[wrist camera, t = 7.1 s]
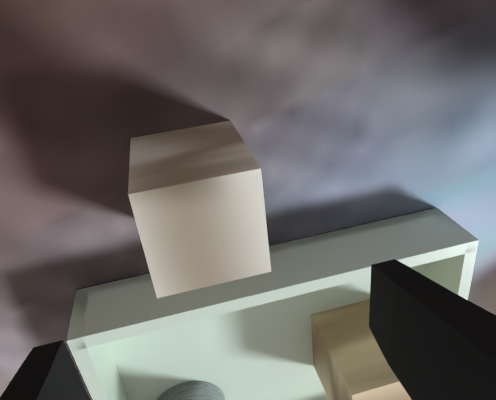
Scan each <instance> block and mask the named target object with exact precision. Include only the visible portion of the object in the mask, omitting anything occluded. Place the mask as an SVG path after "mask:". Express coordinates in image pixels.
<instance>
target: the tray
mask: <svg viewBox="0 0 496 400" xmlns="http://www.w3.org/2000/svg"><path fill="white" fill-rule="evenodd" d="M478 242H479V240H478V239H477V238H475V237H474V236H473V235H472V234H470V233H469V232H468V231H466V230H465V229H464V228H462V227H461V226H460V225H459V224H457V223H456V222H455V221H453V220H452V219H451V218H450V217H448V216H447V215H446V214H444V213H443V212H442V211H440V210H439V209H438V208H433V209H429V210H425V211H420V212H416V213H412V214H407V215H403V216H398V217H394V218H390V219H385V220H381V221H377V222H372V223H368V224H363V225H359V226H355V227H350V228H346V229H342V230H337V231H333V232H328V233H324V234H320V235H315V236H311V237H306V238H302V239H298V240H293V241H289V242H285V243H280V244H276V245H271V246H269V253H270V263H271V272H268V273H263V274H259V275H255V276H251V277H246V278H242V279H238V280H233V281H229V282H225V283H221V284H216V285H212V286H208V287H204V288H199V289H195V290H191V291H186V292H182V293H178V294H174V295H169V296H165V297H161V298H157V296H156V293H155V289H154V286H153V282H152V279H151V275H150V273H149V274H144V275H140V276H136V277H131V278H127V279H123V280H118V281H114V282H109V283H105V284H101V285H96V286H92V287H88V288H83V289H79V290H76V294H75V299H74V304H73V309H72V314H71V319H70V324H69V329H68V335H67V340H66V342H67V344H68V346H69V348H70V350H71V353H72V355H73V357H74V359H75V362H76V364H77V366H78V368H79V370H80V373H81V375H82V377H83V379H84V382H85V384H86V386H87V388H88V391H89V393H90V395H91V397H92V399H93V400H157V398H158V397H159V396H160V395H161V394H162V393H163V392H165V391H166V390H167V389H169V388H171V387H173V386H175V385H177V384H180V383H184V382H188V381H206V382H210V383H212V384H215V385H216V386H218V387H219V388H220V389H221V390H222V391H223V393H224V396H225V400H329V399H328V397H327V395H326V392H325V390H324V388H323V386H322V384H321V381H320V379H319V377H318V375H317V372H316V370H315V368H314V366H313V347H312V328H311V314H314V313H318V312H322V311H326V310H330V309H334V308H337V307H341V306H345V305H349V304H353V303H357V302H361V301H365V300H368V299H370V284H371V265H372V264H376V263H380V262H385V261H389V260H393V259H395V260H397V261H399V262H401V263H403V264H405V265H406V266H408V267H410V268H412V269H414V270H415V271H417V272H419V273H421V274H422V275H424V276H426V277H427V278H429V279H431V280H433V281H434V282H436V283H438V284H440V285H441V286H443V287H445V288H447V289H448V290H450V291H452V292H454V293H455V294H457V295H459V296H461V297H463V298H464V299H466V300H468V295H469V290H470V284H471V279H472V274H473V269H474V263H475V258H476V253H477V247H478Z"/></svg>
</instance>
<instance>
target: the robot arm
mask: <svg viewBox="0 0 496 400" xmlns="http://www.w3.org/2000/svg"><path fill="white" fill-rule="evenodd" d="M369 328H370V330H371V332H372V334H373V336H374V338H375V340H376V342H377V344H378V346H379V348H380V350H381V352H382V354H383V355H384V357H385V359H386V361H387V363H388V365H389V366H390V368H391V369H392V371H393V372H394V374H395V375H396V377H397V378H398V380H399V381H400V383H401V384H402V386H403V387H404V389H405V390H406V392H407V393H408V395H409V396H410V398H411V399H412V400H496V315H494V314H492V313H490V312H488V311H486V310H485V309H483V308H481V307H479V306H477V305H475V304H473V303H472V302H470V301H468V300H466V299H464V298H463V297H461V296H459V295H457V294H455V293H454V292H452V291H450V290H448V289H447V288H445V287H443V286H441V285H440V284H438V283H436V282H434V281H433V280H431V279H429V278H427V277H426V276H424V275H422V274H421V273H419V272H417V271H415V270H414V269H412V268H410V267H408V266H406V265H405V264H403V263H401V262H399V261H397V260H395V259H393V260H389V261H385V262H380V263H376V264H372V265H371V284H370V310H369ZM0 400H90V399H89V396H88V394H87V392H86V390H85V388H84V385H83V383H82V381H81V379H80V377H79V374H78V372H77V370H76V368H75V366H74V363H73V361H72V359H71V357H70V355H69V352H68V350H67V348H66V346H65V344H64V341H63V340H62V341H58V342H54V343H50V344H46V345H42V346H38V347H34V348H33V349H32V351H31V352H30V353H29V355H28V356H27V358H26V359H25V361H24V362H23V364H22V365H21V367H20V368H19V370H18V371H17V373H16V374H15V376H14V377H13V379H12V380H11V382H10V383H9V385H8V386H7V388H6V390H5V391H4V393H3V394H2V396H1V397H0Z"/></svg>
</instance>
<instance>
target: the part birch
mask: <svg viewBox="0 0 496 400" xmlns="http://www.w3.org/2000/svg"><path fill="white" fill-rule="evenodd" d="M128 196H129V200H130V203H131V207H132V210H133V214H134V218H135V221H136V225H137V228H138V232H139V236H140V239H141V243H142V246H143V250H144V253H145V257H146V261H147V264H148V268H149V271H150V275H151V279H152V282H153V286H154V289H155V293H156V296H157V298H161V297H165V296H169V295H174V294H178V293H182V292H186V291H191V290H195V289H199V288H204V287H208V286H212V285H216V284H221V283H225V282H229V281H233V280H238V279H242V278H246V277H251V276H255V275H259V274H263V273H268V272H271V263H270V253H269V244H268V234H267V224H266V214H265V204H264V194H263V184H262V174H261V168H260V166H259V165H258V163H257V161H256V160H255V158H254V157H253V155H252V154H251V152H250V151H249V149H248V147H247V146H246V144H245V143H244V141H243V140H242V138H241V136H240V135H239V133H238V132H237V130H236V129H235V127H234V125H233V124H232V122H231V121H224V122H218V123H213V124H207V125H202V126H196V127H190V128H185V129H179V130H173V131H168V132H162V133H157V134H151V135H145V136H140V137H134V138H131V140H130V162H129V184H128Z"/></svg>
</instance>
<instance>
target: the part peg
mask: <svg viewBox="0 0 496 400" xmlns="http://www.w3.org/2000/svg"><path fill="white" fill-rule="evenodd" d="M157 400H225V396H224V393H223V391H222V390H221V389H220V388H219V387H218V386H216V385H215V384H212V383H210V382H206V381H188V382H184V383H180V384H177V385H175V386H173V387H171V388H169V389H167V390H166V391H165V392H163V393H162V394H161V395H160V396H159V397H158V398H157Z"/></svg>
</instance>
